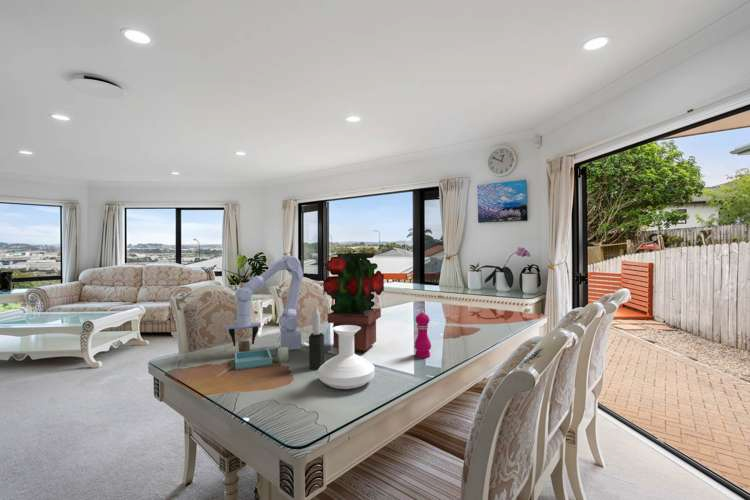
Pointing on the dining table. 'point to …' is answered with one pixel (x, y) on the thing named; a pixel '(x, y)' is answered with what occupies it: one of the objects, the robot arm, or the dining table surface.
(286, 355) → the sage cylinder
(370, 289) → the potted plant
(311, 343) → the candle
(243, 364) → the tray
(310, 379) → the dining table surface
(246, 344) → the walnut block
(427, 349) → the pepper mill
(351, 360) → the white vase
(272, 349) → the slate block
